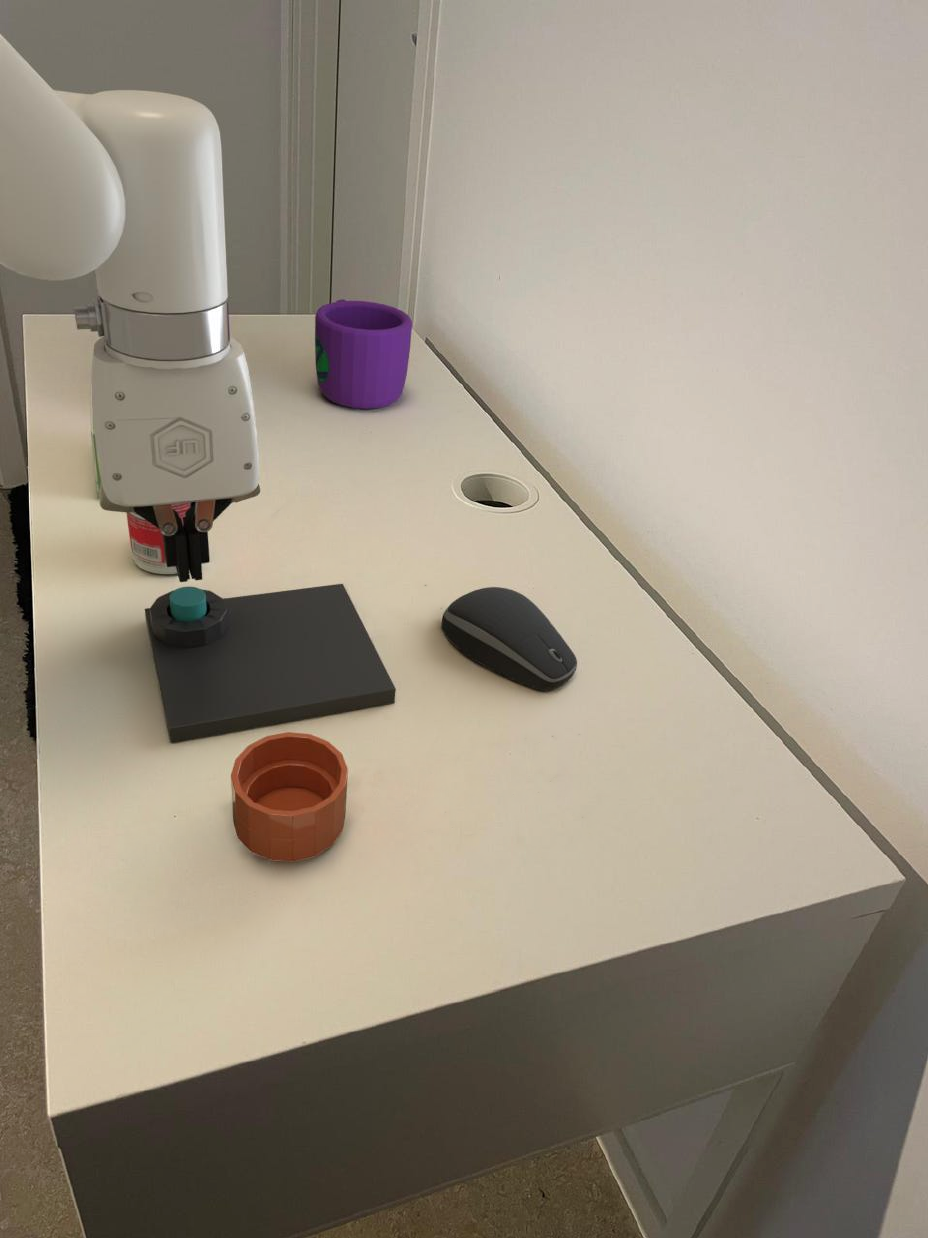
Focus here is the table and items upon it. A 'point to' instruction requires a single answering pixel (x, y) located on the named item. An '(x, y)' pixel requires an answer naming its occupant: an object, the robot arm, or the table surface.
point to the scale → (264, 661)
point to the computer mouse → (509, 637)
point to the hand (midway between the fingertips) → (188, 570)
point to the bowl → (289, 796)
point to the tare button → (188, 604)
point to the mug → (362, 353)
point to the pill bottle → (150, 542)
